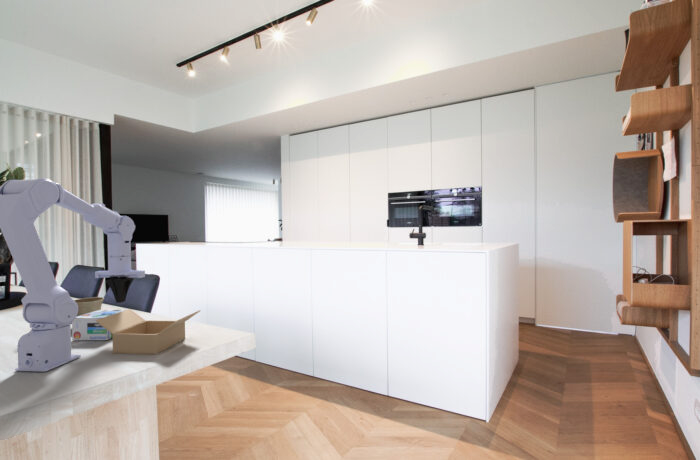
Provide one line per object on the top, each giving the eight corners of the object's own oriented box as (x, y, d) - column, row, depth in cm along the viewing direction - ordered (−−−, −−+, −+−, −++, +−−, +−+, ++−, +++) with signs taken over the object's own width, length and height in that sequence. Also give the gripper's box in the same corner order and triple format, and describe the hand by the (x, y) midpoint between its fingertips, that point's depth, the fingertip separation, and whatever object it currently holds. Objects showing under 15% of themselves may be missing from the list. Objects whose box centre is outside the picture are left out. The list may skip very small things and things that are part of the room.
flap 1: (95, 320, 93) (95, 321, 93) (113, 333, 92) (112, 334, 92) (130, 308, 105) (129, 309, 105) (145, 320, 104) (144, 321, 104)
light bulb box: (131, 309, 113) (107, 317, 102) (131, 330, 113) (107, 340, 102) (98, 309, 113) (70, 317, 102) (98, 330, 113) (70, 341, 102)
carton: (156, 354, 91) (155, 334, 91) (112, 353, 92) (112, 333, 92) (185, 338, 104) (184, 320, 103) (146, 337, 105) (146, 320, 105)
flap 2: (157, 333, 91) (157, 334, 91) (174, 321, 90) (175, 322, 90) (184, 320, 103) (185, 321, 103) (200, 310, 103) (200, 310, 103)
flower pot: (62, 328, 116) (61, 302, 115) (91, 321, 125) (90, 296, 124) (83, 330, 113) (83, 303, 113) (111, 322, 122) (110, 297, 122)
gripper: (151, 254, 109) (152, 299, 109) (107, 255, 110) (108, 299, 110) (135, 257, 101) (136, 304, 102) (88, 257, 103) (89, 304, 103)
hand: (120, 302), depth 105 cm, fingers closed
